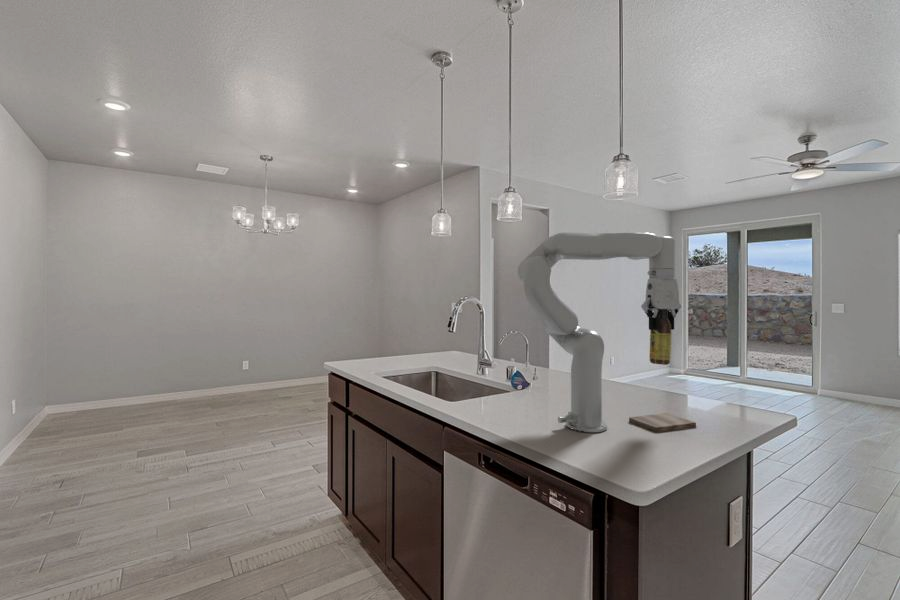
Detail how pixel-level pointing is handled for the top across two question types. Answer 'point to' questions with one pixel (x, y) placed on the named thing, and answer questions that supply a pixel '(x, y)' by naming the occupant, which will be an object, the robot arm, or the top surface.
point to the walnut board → (662, 422)
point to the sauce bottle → (661, 339)
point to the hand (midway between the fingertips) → (661, 329)
